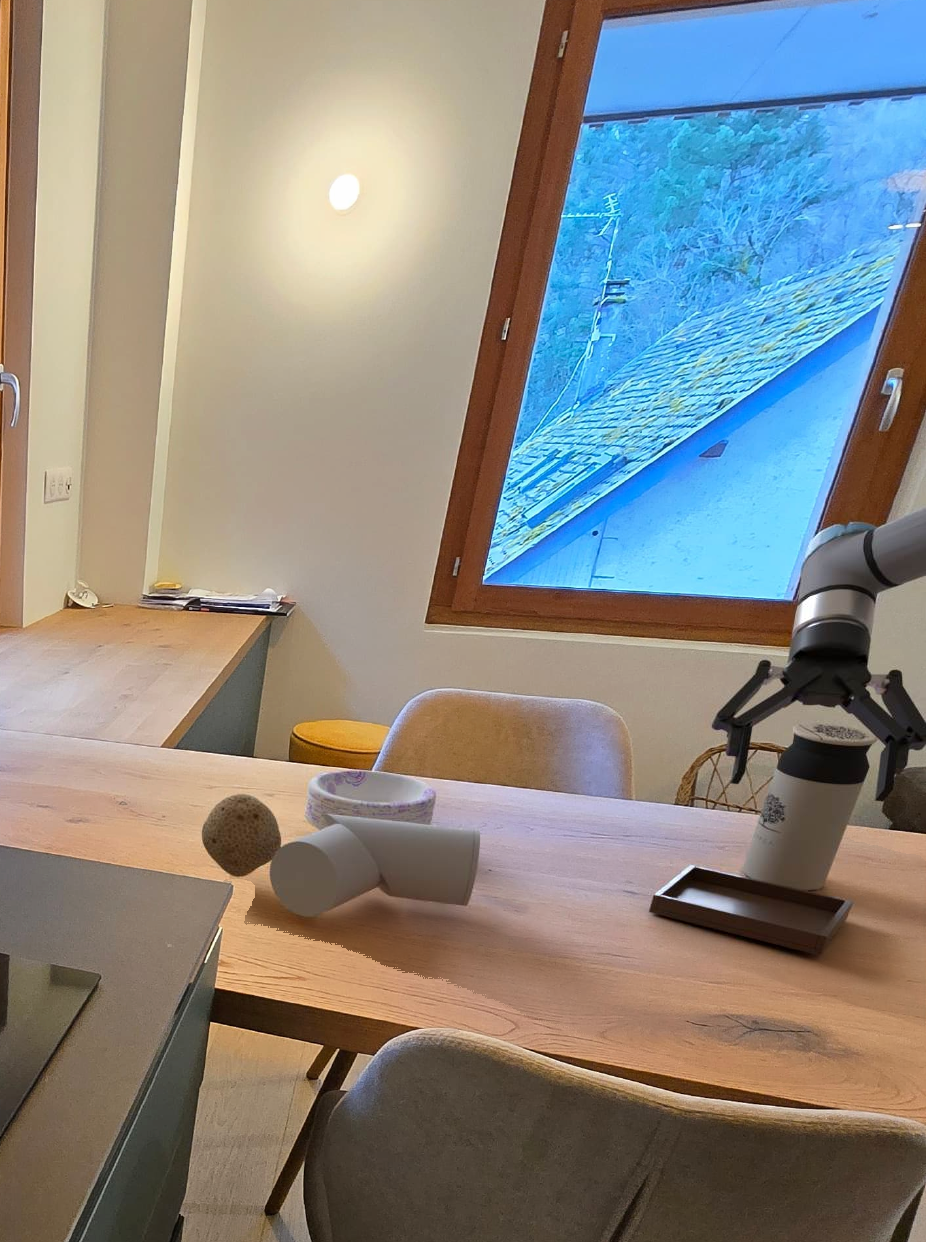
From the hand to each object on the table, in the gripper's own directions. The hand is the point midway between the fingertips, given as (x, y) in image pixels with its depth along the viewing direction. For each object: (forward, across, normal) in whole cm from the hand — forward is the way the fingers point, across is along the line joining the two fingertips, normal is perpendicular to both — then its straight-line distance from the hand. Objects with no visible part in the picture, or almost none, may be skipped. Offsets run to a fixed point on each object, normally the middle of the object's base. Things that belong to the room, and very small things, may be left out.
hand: (808, 786), depth 121 cm
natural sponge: (+32, +57, +15) cm, 67 cm away
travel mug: (+9, 0, -7) cm, 11 cm away
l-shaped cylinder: (+32, +40, +16) cm, 54 cm away
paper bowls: (+18, +45, +2) cm, 49 cm away
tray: (+20, +4, +4) cm, 21 cm away
